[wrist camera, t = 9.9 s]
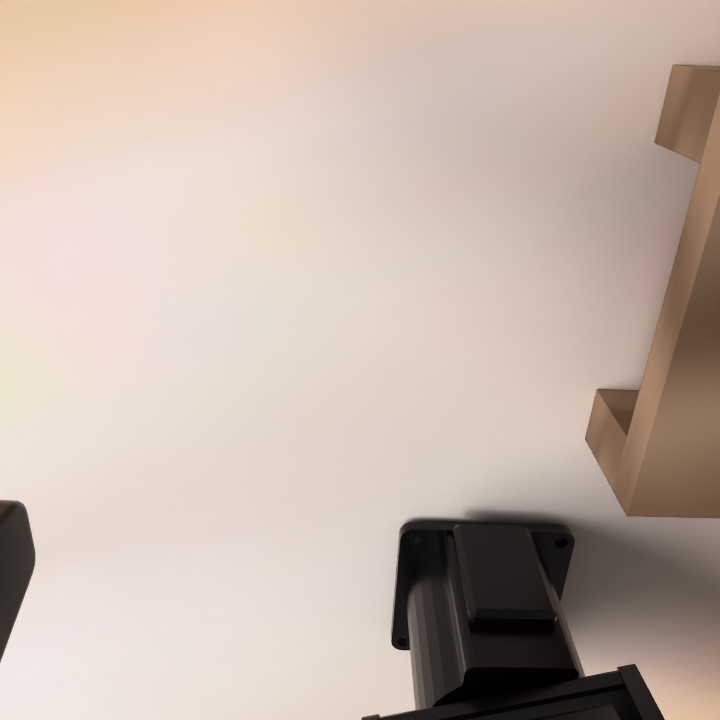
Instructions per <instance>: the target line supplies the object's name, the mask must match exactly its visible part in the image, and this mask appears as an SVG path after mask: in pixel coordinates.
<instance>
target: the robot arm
mask: <svg viewBox="0 0 720 720" xmlns="http://www.w3.org/2000/svg"><path fill="white" fill-rule="evenodd" d="M413 534H415V535H418V536H416V537H409V536H410V535H413ZM558 538H563V539H561V540H558V541H557V539H558ZM574 543H575V540H574V537H573V534H572V532H571V530H570V529H569V528H568V527H566V526H562V525H531V524H486V523H442V522H409V523H406V524H404V525H403V526H402V527H401V529H400V532H399V543H398V555H397V567H396V579H395V591H394V603H393V615H392V627H391V642H392V645H393V646H394V648H396V649H398V650H410V653H411V664H412V675H413V687H414V698H415V709H416V710H413V711H408V712H403V713H398V714H393V715H388V716H383V717H380V716H379V714H377V715H372V716H367V717H362V720H665V719H664V717H663V715H662V714H661V712H660V710H659V708H658V706H657V704H656V702H655V700H654V698H653V697H652V695H651V693H650V691H649V689H648V687H647V685H646V683H645V682H644V680H643V678H642V676H641V674H640V672H639V670H638V668H637V667H636V665H635V664H631V665H626V666H621V667H617V671H612V672H607V673H602V674H597V675H592V676H586V677H585V674H584V671H583V668H582V665H581V662H580V659H579V656H578V654H577V651H576V648H575V645H574V642H573V639H572V636H571V633H570V631H569V628H568V625H567V622H566V619H565V616H564V613H563V610H562V607H561V605H560V600H561V596H562V592H563V588H564V584H565V580H566V576H567V572H568V568H569V564H570V560H571V556H572V551H573V547H574ZM34 566H35V548H34V543H33V538H32V533H31V528H30V523H29V518H28V514H27V510H26V507H25V506H24V504H23V503H21V502H19V501H13V500H0V662H1V659H2V656H3V654H4V651H5V648H6V645H7V643H8V640H9V637H10V634H11V632H12V629H13V626H14V623H15V621H16V618H17V615H18V612H19V610H20V607H21V604H22V601H23V599H24V596H25V593H26V590H27V588H28V585H29V582H30V579H31V576H32V574H33V570H34Z"/></svg>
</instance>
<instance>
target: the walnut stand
mask: <svg viewBox="0 0 720 720" xmlns="http://www.w3.org/2000/svg"><path fill="white" fill-rule="evenodd" d="M655 143H656V144H658V145H661V146H663V147H665V148H667V149H670V150H672V151H674V152H676V153H679V154H681V155H683V156H685V157H688V158H690V159H692V160H694V161H697V162H699V163H701V164H700V168H699V172H698V175H697V179H696V183H695V187H694V190H693V194H692V198H691V201H690V205H689V209H688V213H687V216H686V220H685V224H684V227H683V231H682V235H681V239H680V242H679V246H678V250H677V253H676V257H675V261H674V265H673V268H672V272H671V276H670V279H669V283H668V287H667V291H666V294H665V298H664V302H663V305H662V309H661V313H660V317H659V320H658V324H657V328H656V331H655V335H654V339H653V343H652V346H651V350H650V354H649V357H648V361H647V365H646V369H645V372H644V376H643V380H642V383H641V387H640V391H626V390H596V395H595V399H594V403H593V408H592V412H591V416H590V420H589V425H588V429H587V433H586V437H585V440H586V442H587V443H588V445H589V447H590V449H591V451H592V453H593V455H594V456H595V458H596V460H597V462H598V464H599V466H600V468H601V469H602V471H603V473H604V475H605V477H606V479H607V481H608V482H609V484H610V486H611V488H612V490H613V492H614V494H615V495H616V497H617V499H618V501H619V503H620V505H621V507H622V508H623V510H624V512H625V514H626V516H643V517H687V518H720V67H715V66H690V65H673V66H672V70H671V75H670V79H669V83H668V87H667V92H666V96H665V100H664V105H663V109H662V113H661V117H660V122H659V126H658V130H657V134H656V139H655Z"/></svg>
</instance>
